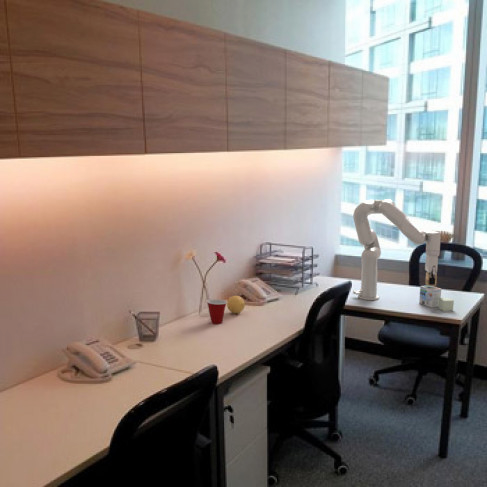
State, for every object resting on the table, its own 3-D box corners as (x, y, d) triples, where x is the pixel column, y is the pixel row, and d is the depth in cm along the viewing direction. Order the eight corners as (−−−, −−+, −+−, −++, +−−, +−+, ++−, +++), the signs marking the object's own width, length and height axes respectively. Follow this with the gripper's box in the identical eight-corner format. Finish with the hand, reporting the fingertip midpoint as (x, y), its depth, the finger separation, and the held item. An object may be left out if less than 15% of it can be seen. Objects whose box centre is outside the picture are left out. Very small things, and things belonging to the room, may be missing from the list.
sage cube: (442, 310, 294) (443, 300, 293) (438, 307, 300) (438, 297, 299) (453, 310, 294) (453, 300, 293) (448, 307, 300) (448, 297, 299)
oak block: (427, 285, 302) (428, 274, 300) (425, 283, 306) (426, 272, 305) (436, 286, 301) (436, 274, 300) (434, 284, 306) (434, 272, 305)
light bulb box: (418, 303, 309) (419, 285, 307) (427, 301, 312) (428, 284, 310) (432, 307, 300) (433, 289, 298) (440, 306, 302) (441, 288, 301)
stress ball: (230, 317, 286) (243, 307, 282) (220, 302, 288) (233, 292, 285) (238, 315, 295) (251, 306, 291) (229, 301, 297) (241, 291, 294)
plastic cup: (231, 322, 275) (231, 300, 273) (217, 327, 267) (217, 304, 265) (216, 318, 282) (216, 296, 280) (202, 322, 274) (202, 301, 272)
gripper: (422, 250, 309) (420, 279, 312) (429, 255, 293) (427, 286, 296) (435, 250, 308) (433, 279, 311) (443, 255, 292) (441, 287, 295)
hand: (430, 282), depth 304 cm, fingers closed on oak block, 4 cm apart
